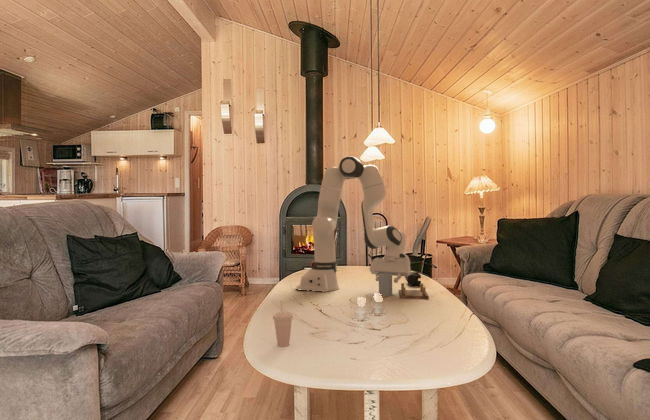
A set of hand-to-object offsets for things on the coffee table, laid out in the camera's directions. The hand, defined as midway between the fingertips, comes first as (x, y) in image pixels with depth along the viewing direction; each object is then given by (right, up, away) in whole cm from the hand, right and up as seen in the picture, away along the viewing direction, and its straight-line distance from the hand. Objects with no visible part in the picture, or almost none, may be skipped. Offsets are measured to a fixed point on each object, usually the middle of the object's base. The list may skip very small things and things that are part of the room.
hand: (386, 281), depth 205 cm
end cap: (+18, -6, +23) cm, 29 cm away
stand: (+12, -6, -3) cm, 14 cm away
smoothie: (-43, -9, -70) cm, 82 cm away
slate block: (0, -6, 0) cm, 7 cm away
